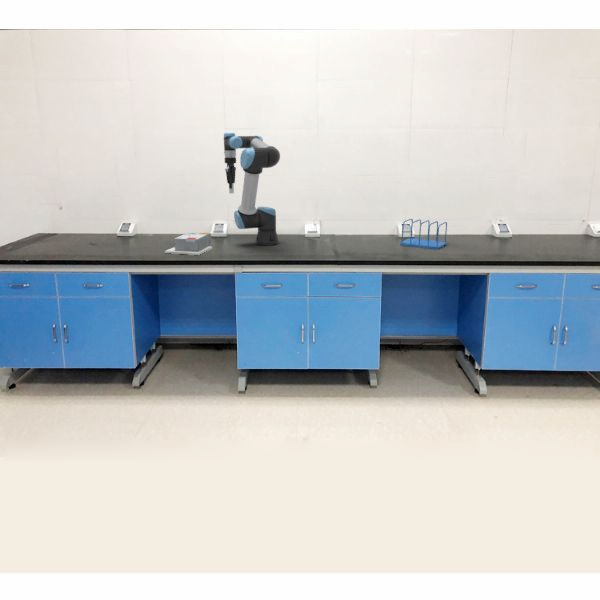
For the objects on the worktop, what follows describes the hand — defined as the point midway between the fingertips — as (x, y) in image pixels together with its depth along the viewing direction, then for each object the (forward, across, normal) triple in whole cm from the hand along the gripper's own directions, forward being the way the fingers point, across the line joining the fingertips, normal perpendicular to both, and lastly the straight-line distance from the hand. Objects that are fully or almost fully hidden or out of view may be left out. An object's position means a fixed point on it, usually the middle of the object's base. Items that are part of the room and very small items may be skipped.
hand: (231, 193), depth 393 cm
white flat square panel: (+29, +50, -8) cm, 59 cm away
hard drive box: (+24, +37, -7) cm, 45 cm away
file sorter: (+30, -7, +128) cm, 131 cm away
